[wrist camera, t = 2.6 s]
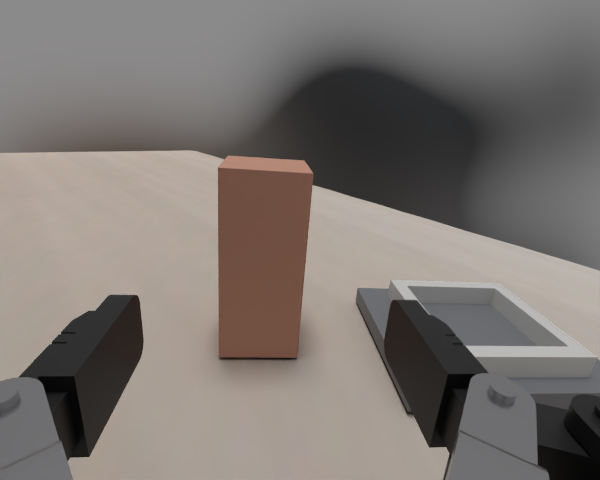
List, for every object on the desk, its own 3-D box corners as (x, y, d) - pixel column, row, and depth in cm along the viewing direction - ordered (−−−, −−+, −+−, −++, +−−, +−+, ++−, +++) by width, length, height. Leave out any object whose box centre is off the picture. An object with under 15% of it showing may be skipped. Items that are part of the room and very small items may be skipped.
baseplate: (407, 411, 19) (417, 372, 18) (355, 300, 30) (360, 272, 29) (633, 408, 21) (652, 372, 20) (505, 303, 32) (513, 277, 31)
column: (219, 357, 22) (218, 167, 18) (227, 314, 27) (228, 155, 23) (296, 357, 23) (313, 173, 19) (291, 315, 27) (304, 160, 23)
